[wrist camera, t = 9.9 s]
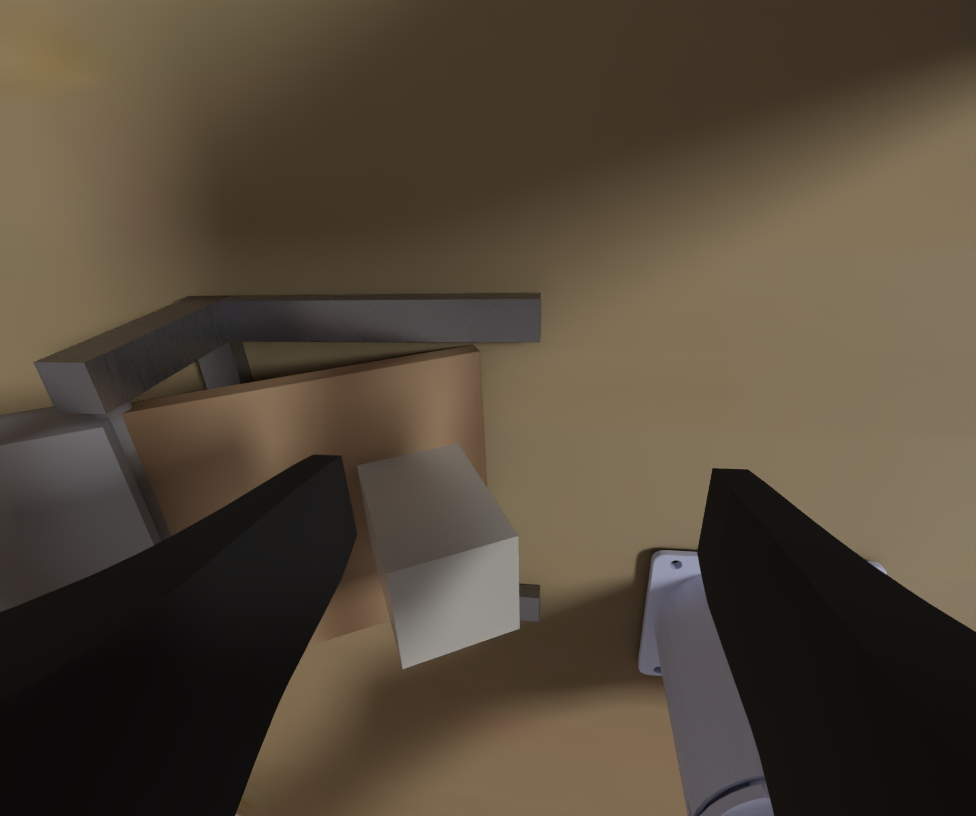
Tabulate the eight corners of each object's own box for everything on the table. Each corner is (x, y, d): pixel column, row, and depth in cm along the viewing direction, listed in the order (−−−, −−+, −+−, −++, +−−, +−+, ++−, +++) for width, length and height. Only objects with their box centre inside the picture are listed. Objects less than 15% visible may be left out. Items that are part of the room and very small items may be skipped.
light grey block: (457, 443, 21) (518, 535, 16) (464, 522, 22) (519, 628, 17) (356, 465, 19) (386, 573, 14) (371, 547, 21) (402, 669, 16)
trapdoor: (465, 333, 21) (487, 353, 19) (481, 568, 26) (498, 602, 24) (-113, 427, 15) (-172, 468, 13) (62, 696, 21) (39, 753, 19)
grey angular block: (540, 293, 19) (528, 367, 13) (539, 608, 26) (532, 754, 20) (187, 296, 21) (27, 362, 14) (278, 589, 28) (197, 717, 22)
